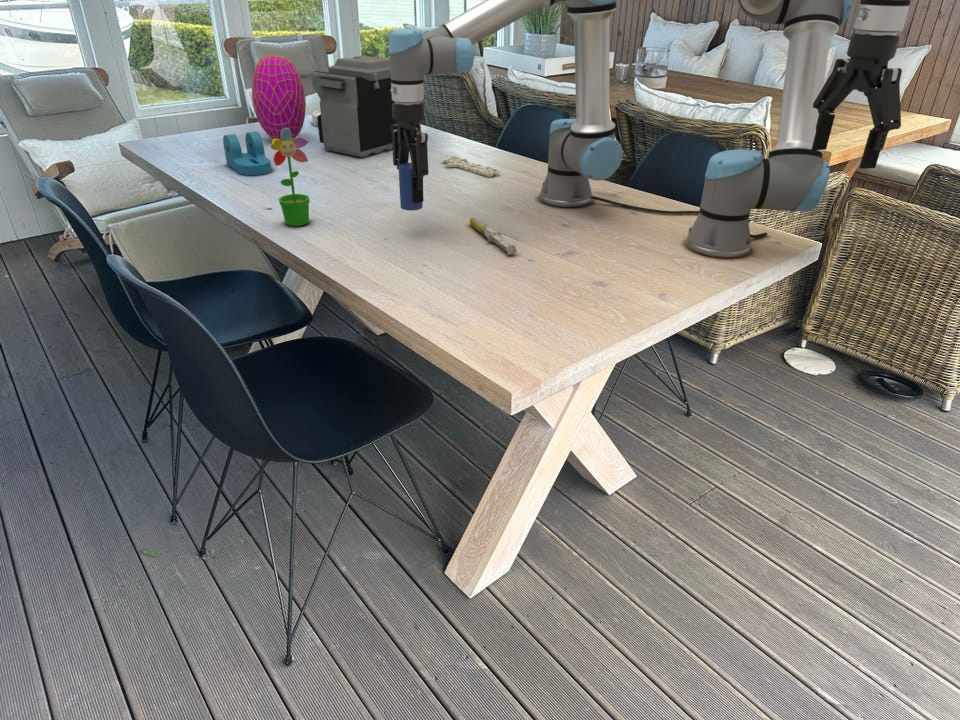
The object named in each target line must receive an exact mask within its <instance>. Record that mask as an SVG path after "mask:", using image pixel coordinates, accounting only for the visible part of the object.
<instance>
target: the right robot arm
mask: <svg viewBox="0 0 960 720" xmlns="http://www.w3.org/2000/svg"><path fill="white" fill-rule="evenodd" d="M911 1H912V0H860V2H859V6H858V9H857V14H856V18H855V20H854V24H853V25H854V26H853V29H854V30H855V31H856V32H853V33H852V35H850V40H849V43H848V47H847V51H846V55H847V56H848V58H837V59H836V60H835V62H834V65H833V68H832V71H831V73H830V75H829V76H828V78H827V80H826V75H827V73H826V72H827V66H828V65H827V64H828V59H829V58H828V57H829V51H830V41H831V38H833V37H834V36H835V35H836V34H837V33H838V32H839V30H840V27H841V26H843V25H844V24H845V23H846V22H847V20H848V18H849V16H850V13H851V6H852V5H853V0H737V3H738V6H739V8H740V10H741V11H742V12H743V13H744V14H745V15H746V16H747V17H748V18H750V19H752V20H754V21H757V22H759V23H763V24H767V25H768V24H769V25H783V33H782V35H783V36H784V38H785V39H787V40H788V47H787V56H786V64H785V65H786V66H785V71H784V72H785V73H784V80H783V89H782V96H781V97H782V98H781V106H780V113H779V114H780V115H779V119H778V127H777V128H778V130H777V137H776V144H775V145H774V146H773V147H772V148H771V149H770V150H769V151H768V155H767V158H764V156H763V154H762V152H761V151H758V150H755V149H745V148H744V149H743V148H740V149H729V150H723V151H720V152H717V153H715V154H713V155H712V156H711V157H710V158H709V160H708V164H707V167H706V171H705V174H704V185H703V190H702V195H701V201H700V206H699V210H698V211H699V214H697V217H696V219H695V221H694V223H693V225H692V226H691V227H688V234H687V236H686V240H685V241H686V242H685V244H686V247H687V248H688V249H690V250H691V251H693V252H695V253H697V254H701V255H703V256H707V257H711V258H718V259H719V258H720V259H734V258H735V259H736V258H740V257H744V256H747V255H748V254H749V253H750V252H751V247H752V240H751V239H759V238H763V237H766V236H768V232H762V233H759V234H751V231H750V222H748V220H750V215H751V211H752V210H766V211H784V212H791V213H796V212H810V211H812V210H814V209H815V208H816V207H817V206H818V205H819V203H820V201H821V200H822V198H823V196H824V194H825V191H826V189H827V186H828V182H829V178H830V174H831V170H830V167H831V166H830V163H829V162H828V161H826V160H823V151H826V150H827V147H828V145H829V140H830V137H831V132H832V129H833V125H834V121H835V117H836V114H835V113H836V111H835V110H836V109H837V108H838V107H839V106H840V105H841V104H842V102H843V101H844V100H846V98H847V97H848V96H849V95H850V94H851V93H852V92H853V91H857V92H860V93H863V95H864V96H865V97H866V99H867V103H868V108H869V112H870V116H871V119H872V124H873V128H871V129H870V130H869V133H868V136H867V139H866V143H865V145H864V148H863V149H864V150H863V153H862V156H861V160H860V163H859V166H858V167H859V169H862V170H865V169H876V167H877V164H878V160H879V158H880V157H879V156H880V154H881V151H882V150H883V149H884V147H885V144H886V141H887V139H888V138H887V137H888V134H889V132H890V131H894V130H899V129H901V127H902V116H901V115H902V113H901V112H902V111H901V90H900V89H901V87H900V81H901V78H902V74H903V73H902V72H903V69H902V68H901V67H892V68H891V67H890V68H889V62H890V61H891V60H893V59H894V58H895V56H896V53H897V49H898V47H899V43H900V40H901V37H900V36H899V35H898V33H901V32H902V31H903V30H904V28H905V27H904V26H905V23H906V20H907V17H908V13H909V8H910V4H911ZM825 80H826V81H825Z"/></svg>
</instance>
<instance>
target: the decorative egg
mask: <svg viewBox="0 0 960 720" xmlns="http://www.w3.org/2000/svg"><path fill="white" fill-rule="evenodd" d="M253 70H254V71H253V73H252V77H251V101H252V107H253V110H254V114H255V116H256V118H257V121H258V123H259V125H260V127H261V128H262V130H263V131H264V133H266V135H267V136H268V137H270V138H271V139H272V140H273V139H279V140H281V136H280V134H281V131H282V130H283V129H284V128H288V129H289V130H290V131H291V134H292V139H293V138H295V137H298V136H299V134H301V131H302V129H303V127H304V123H305V118H306V104H307V103H306V102H307V101H306V99H307V97H306V93H305V88H304V84H303V81H302V77H301V75H300V73H299V71H298V69H297V67H296V66H295V65H294V63H293V62H292V61H291V60H290V59H288V58H287V57H285V56H282V55H280V54H268V55H265V56H262V57H261V58H260V59H259V60H258V61H257V62H256V65H255V68H254V69H253ZM281 141H282V140H281Z"/></svg>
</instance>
